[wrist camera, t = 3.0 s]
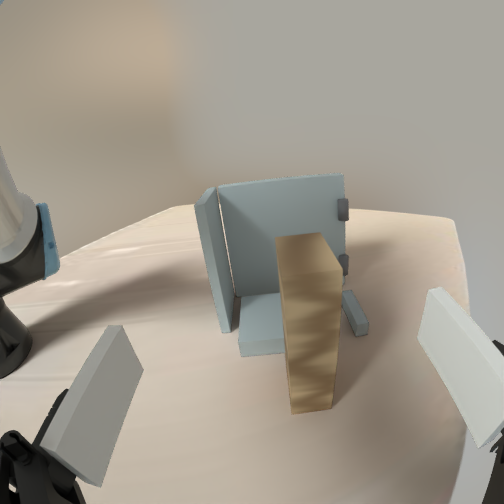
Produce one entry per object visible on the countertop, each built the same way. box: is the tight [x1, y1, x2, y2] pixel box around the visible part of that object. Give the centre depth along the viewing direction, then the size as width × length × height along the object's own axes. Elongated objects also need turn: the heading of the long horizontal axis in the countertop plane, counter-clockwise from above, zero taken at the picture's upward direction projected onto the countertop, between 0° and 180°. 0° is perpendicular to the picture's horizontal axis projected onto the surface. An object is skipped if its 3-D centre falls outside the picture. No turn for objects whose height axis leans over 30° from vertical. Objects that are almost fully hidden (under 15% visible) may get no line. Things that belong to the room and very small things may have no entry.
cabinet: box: [194, 173, 369, 357], centre depth 36 cm, size 20×16×18 cm
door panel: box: [275, 232, 343, 414], centre depth 24 cm, size 4×7×16 cm, turn 0°
